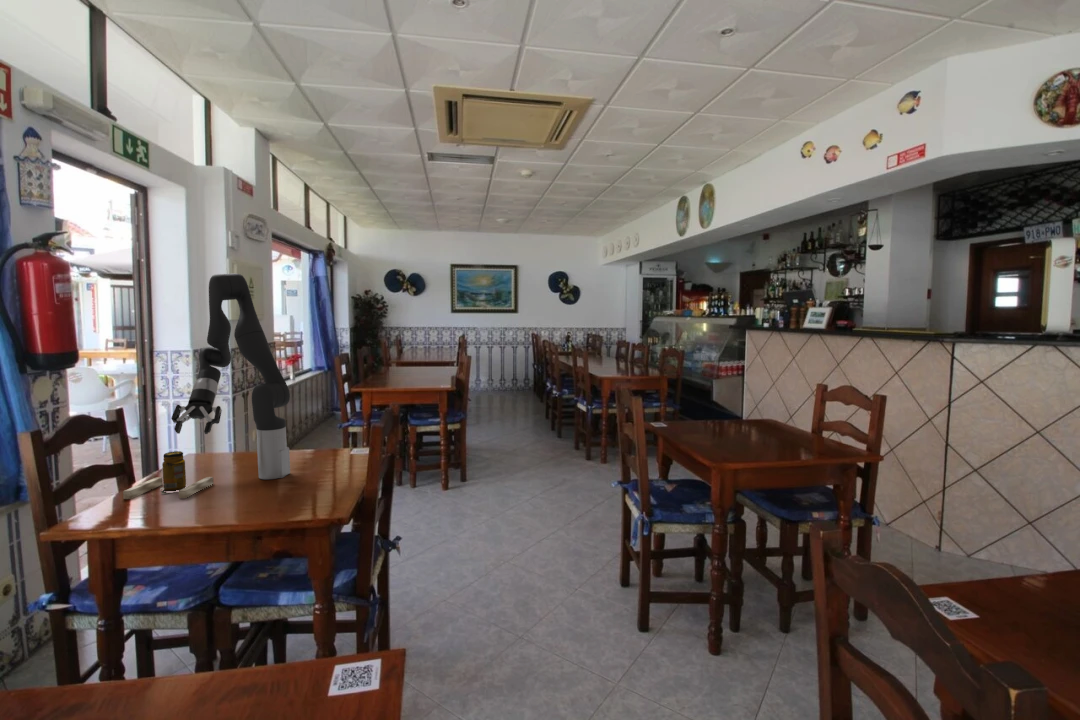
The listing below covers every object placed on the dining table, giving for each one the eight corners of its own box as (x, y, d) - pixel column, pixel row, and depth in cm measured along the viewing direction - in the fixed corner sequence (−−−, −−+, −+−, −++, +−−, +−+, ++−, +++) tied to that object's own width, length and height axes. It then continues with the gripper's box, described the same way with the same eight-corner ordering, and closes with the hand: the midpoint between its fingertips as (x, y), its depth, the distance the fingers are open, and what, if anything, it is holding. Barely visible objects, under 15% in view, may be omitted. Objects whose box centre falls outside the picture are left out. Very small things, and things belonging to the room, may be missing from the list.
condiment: (186, 484, 173) (184, 449, 172) (189, 490, 167) (187, 454, 166) (160, 488, 169) (157, 452, 168) (161, 495, 162) (159, 458, 161)
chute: (156, 484, 173) (156, 477, 172) (213, 484, 173) (213, 477, 173) (123, 499, 159) (123, 491, 158) (185, 498, 159) (185, 490, 159)
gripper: (178, 386, 182) (164, 427, 173) (223, 388, 186) (212, 428, 177) (184, 398, 188) (171, 437, 179) (228, 399, 192) (217, 438, 183)
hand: (191, 432), depth 178 cm, fingers open, 8 cm apart
